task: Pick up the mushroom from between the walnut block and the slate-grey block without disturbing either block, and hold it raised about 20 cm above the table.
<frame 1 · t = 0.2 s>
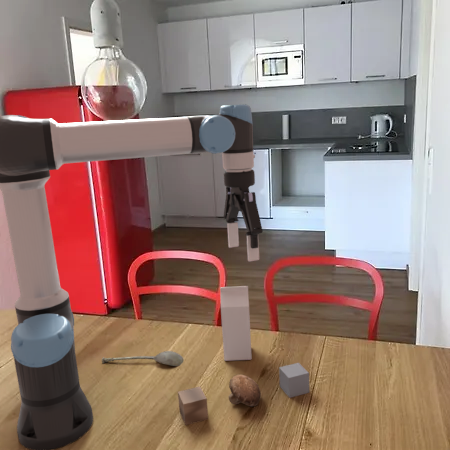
hand: (243, 253, 124), 28 cm above the table, fingers open, 13 cm apart
slate-grey block: (294, 389, 112), on the table
mushroom: (245, 402, 108), on the table
walnut block: (193, 415, 105), on the table
milk carton: (238, 354, 129), on the table
soupspoon: (143, 363, 129), on the table
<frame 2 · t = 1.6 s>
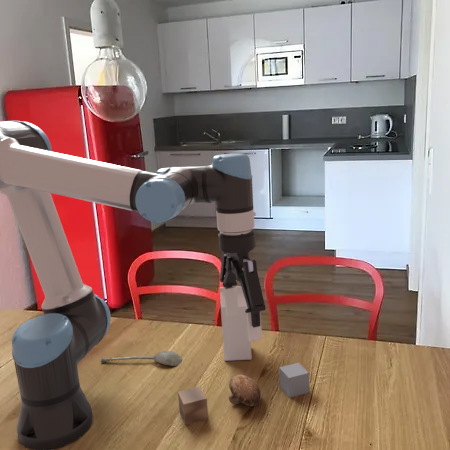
hand: (243, 326, 104), 18 cm above the table, fingers open, 13 cm apart
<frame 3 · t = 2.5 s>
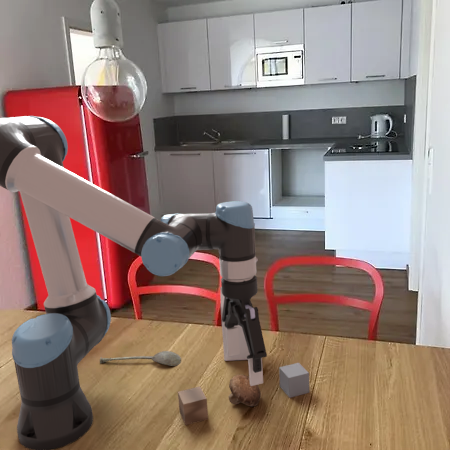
hand: (244, 368, 106), 8 cm above the table, fingers open, 13 cm apart
nothing on the table moved.
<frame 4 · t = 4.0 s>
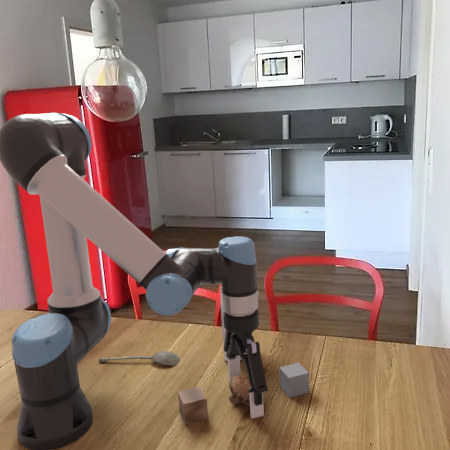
hand: (245, 399, 108), 1 cm above the table, fingers open, 13 cm apart
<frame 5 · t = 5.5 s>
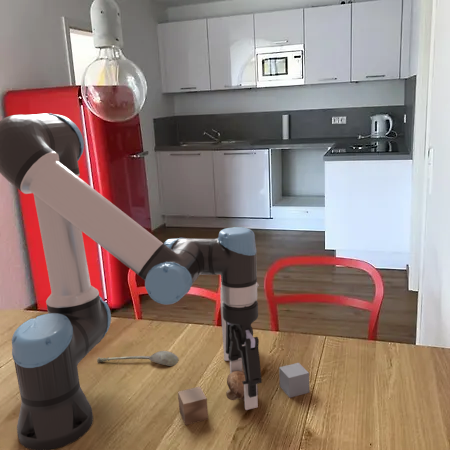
hand: (243, 396, 108), 1 cm above the table, fingers closed on mushroom, 8 cm apart
mushroom: (243, 399, 108), point 1 cm above the table, touching gripper
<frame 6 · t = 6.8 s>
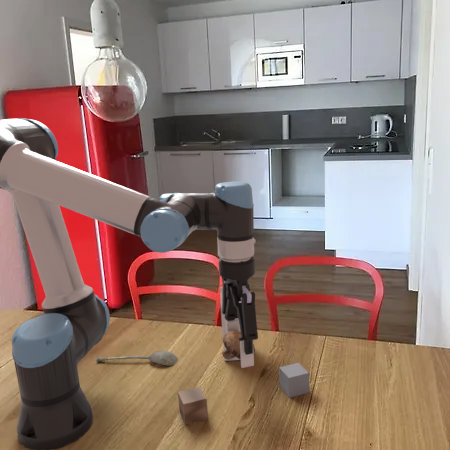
hand: (240, 356, 106), 11 cm above the table, fingers closed on mushroom, 8 cm apart
mushroom: (239, 358, 106), point 10 cm above the table, touching gripper
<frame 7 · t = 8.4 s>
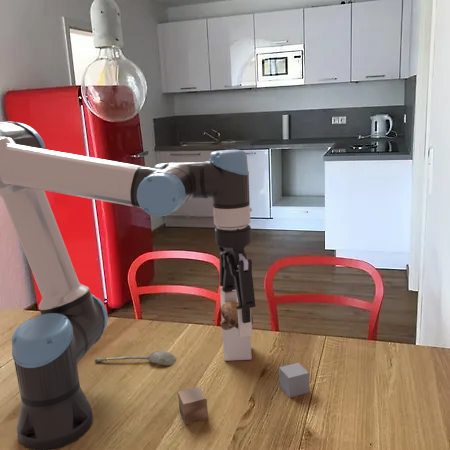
hand: (238, 326, 106), 17 cm above the table, fingers closed on mushroom, 8 cm apart
mushroom: (237, 329, 106), point 17 cm above the table, touching gripper
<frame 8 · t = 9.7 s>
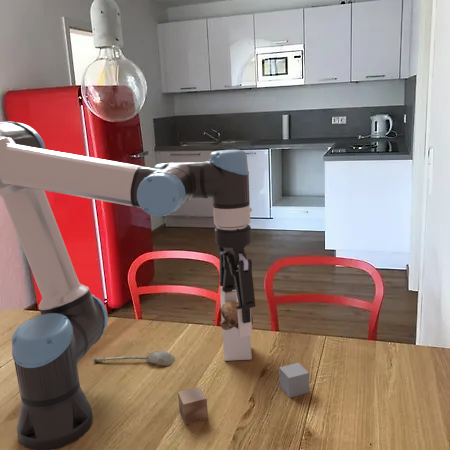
hand: (238, 326, 106), 17 cm above the table, fingers closed on mushroom, 8 cm apart
mushroom: (237, 329, 106), point 17 cm above the table, touching gripper
at the end: mushroom point 16.6 cm above the table; walnut block moved 0.1 cm from its start; slate-grey block moved 0.1 cm from its start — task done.
